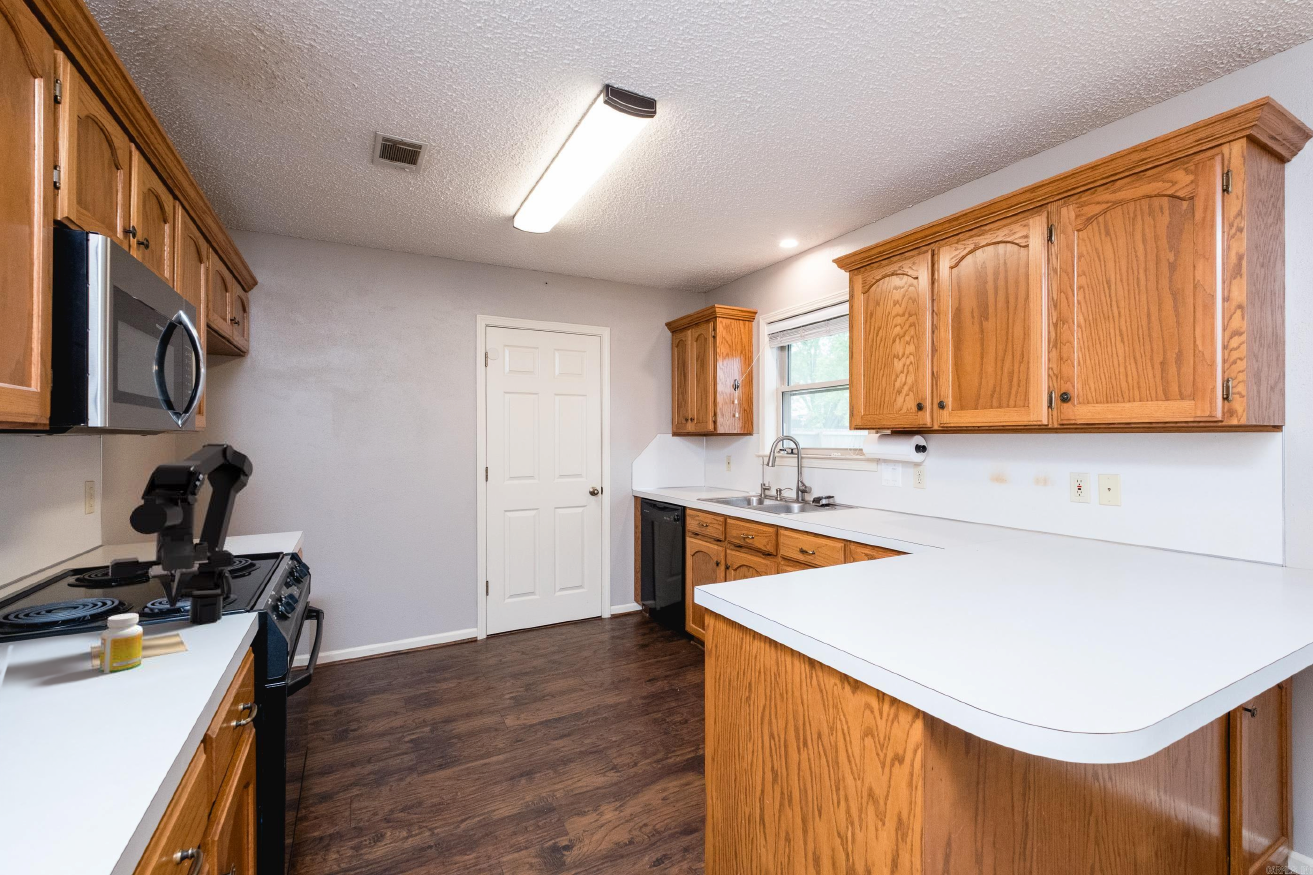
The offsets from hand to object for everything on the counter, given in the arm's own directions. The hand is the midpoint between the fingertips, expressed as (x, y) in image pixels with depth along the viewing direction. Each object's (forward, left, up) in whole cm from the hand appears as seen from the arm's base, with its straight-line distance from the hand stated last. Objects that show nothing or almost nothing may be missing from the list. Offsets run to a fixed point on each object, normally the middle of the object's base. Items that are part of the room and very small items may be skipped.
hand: (172, 606), depth 117 cm
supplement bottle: (+12, -8, -8) cm, 16 cm away
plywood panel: (+2, -5, -8) cm, 9 cm away
